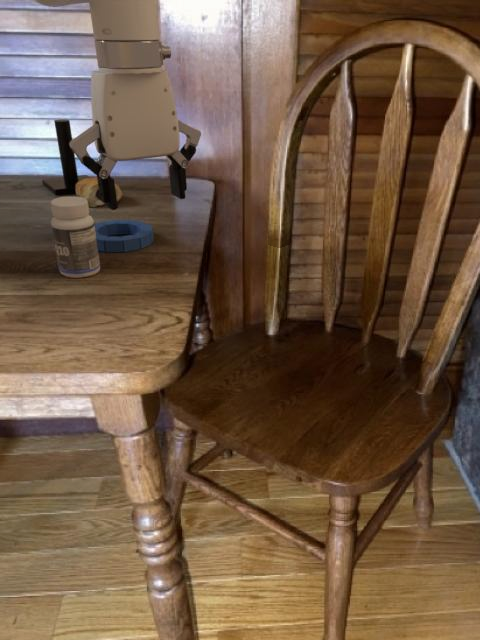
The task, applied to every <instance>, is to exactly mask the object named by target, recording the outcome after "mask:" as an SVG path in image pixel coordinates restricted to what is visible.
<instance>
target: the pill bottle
mask: <svg viewBox="0 0 480 640" xmlns="http://www.w3.org/2000/svg"><path fill="white" fill-rule="evenodd" d="M50 212H51V215H52V216H53V217H52V218H51V220H50V229H51V232H52V238H53V245H54V251H55V256H56V261H57V267H58V271H59V273H60V274H61V275H62V276H64V277H66V278H71V279H72V278H73V279H79V278H86V277H91V276H94V275H96V274H97V273H99V272H100V270H101V263H100V256H99V255H100V254H99V251H98V248H97V240H96V233H95V225H94V224H95V220H94V218H93V217H92V216H91V215H90V206H88V201H87V199H85V198H82V197H78V196H60V197H59V196H58V197H56V198H53V199H52V200H50Z"/></svg>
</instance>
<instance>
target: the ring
mask: <svg viewBox="0 0 480 640" xmlns="http://www.w3.org/2000/svg"><path fill="white" fill-rule="evenodd" d="M94 225H95V233H96V240H97V248H98V252H103V253H126V252H128V253H129V252H133V251H139V250H142V249H144V248H146V247H148V246H151V245H152V244H153V242H154V239H155V237H154V227H153V226H151V224H148V223H147V222H144V221H139V220H131V219H116V220H115V219H113V220H112V219H111V220H106V221H100V222H97V223H94ZM117 235H123V236H117Z"/></svg>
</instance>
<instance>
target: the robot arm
mask: <svg viewBox="0 0 480 640" xmlns="http://www.w3.org/2000/svg"><path fill="white" fill-rule="evenodd" d="M33 1H34V2H35V3H38V4H40V5H42V6H45V7H51V8H59V7H65V6H71V5H79V4H88V5H89V12H90V18H91V19H90V20H91V25H92V32H93V39H94V46H95V53H96V61H97V67H98V68H97V69H98V70H92V71H91V76H90V103H91V104H90V106H91V118H92V119H91V120H92V125H91V126H90V127H88V128H86V129H85V130H84V131H83V132H81V133H80V134H78V135H77V136H76V137H75V138H72V141H70V143H69V145H70V147H71V149H72V150H73V152H74V154H75V157H76V158H77V159H78V160H79V162H80V163H81V164H82V166H84V167H85V168H87V169H88V170H89V171H90V172H92V173H93V174H94V175H95V176H96V177H97V180H98V187H99V193H100V199H101V201H102V202H103V203H105V205H104V206H106V207H107V208H109V209H110V210H112V211H116V210H117V209H118V208H119V205H118V202H117V198H116V191H115V184H116V183H115V180H114V178H113V177H111V173H112V171H113V170H114V168H115V166H116V164H117V163H118V162H128V161H135V160H147V159H152V158H160V157H166V158H168V160H169V161H170V162H171V164H169V167H168V173H169V175H168V176H169V185H170V186H169V187H170V193H171V194H170V195H172V196H174V197H176V198H178V199H180V200H185V199H186V191H187V189H188V184H187V183H188V182H187V174H186V171H187V170H186V169H187V168H188V167H189V165H190V163H189V162H190V161H191V160H192V158H193V157H194V156H195V154H196V152H197V147H198V146H199V142H200V139H201V137H202V132H201V130H199V129H197V128H195V127H193V126H191V125H189V124H187V123H185V122H183V121H181V120H179V119H178V113H177V107H176V100H175V97H174V91H173V87H172V83H171V80H170V76H169V74H168V70H166V69H163V66H164V61H165V60H166V59H171V57H172V50H171V47H170V46H169V45H167V46H166V45H164V44H162V43H163V42H162V40H160V31H159V30H160V26H159V17H158V15H159V14H158V5H157V4H158V3H157V0H33ZM180 133H181V134H183V135H185V137H186V139H185V143H184V144H183V145H182V147H181V148H180V145H181V140H180ZM93 143H94V145H95V149H96V152H97V153H98V154H99V156H98V158H97V159H96V160H94V158H92V157H91V156H90V153H89V152H88V150H87V148H88V147H89V146H90V145H91V144H93Z"/></svg>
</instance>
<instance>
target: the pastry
mask: <svg viewBox="0 0 480 640" xmlns="http://www.w3.org/2000/svg"><path fill="white" fill-rule="evenodd" d="M115 191H116V198H117V203H118V202H120V200H121V199H122V197H123V191H122V190H121V188H120V186H119V185H118V184H116V183H115ZM75 194H76V197H82V198H85V199H87V201H88V206H89V207H90V208H97V207H103V206H106V205H105V203H103V202H102V201H101V199H100V193H99V187H98V180H97V176H94V177H91V178H86V179H83V180H81V181H79V182H77V183H76V193H75Z"/></svg>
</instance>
